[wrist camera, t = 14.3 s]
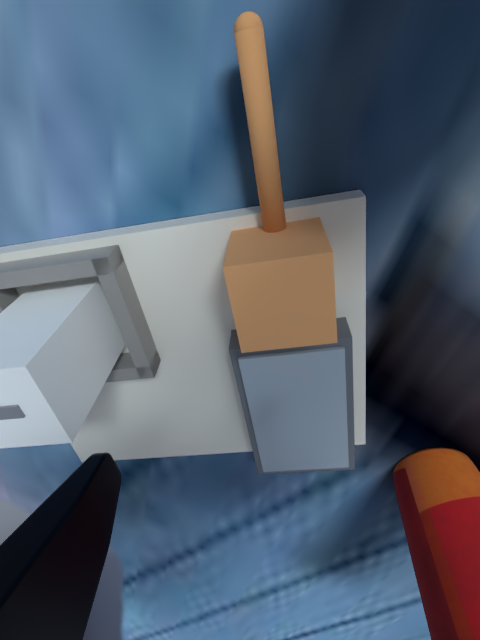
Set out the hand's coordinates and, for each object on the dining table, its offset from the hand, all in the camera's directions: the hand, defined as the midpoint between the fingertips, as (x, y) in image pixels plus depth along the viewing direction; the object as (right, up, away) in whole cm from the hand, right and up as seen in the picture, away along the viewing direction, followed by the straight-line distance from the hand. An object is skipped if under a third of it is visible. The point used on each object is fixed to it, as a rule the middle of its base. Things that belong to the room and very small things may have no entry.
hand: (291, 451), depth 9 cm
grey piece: (+2, -1, +14) cm, 14 cm away
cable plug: (0, +9, +7) cm, 11 cm away
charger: (-10, +3, +11) cm, 15 cm away
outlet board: (-4, +1, +14) cm, 14 cm away
